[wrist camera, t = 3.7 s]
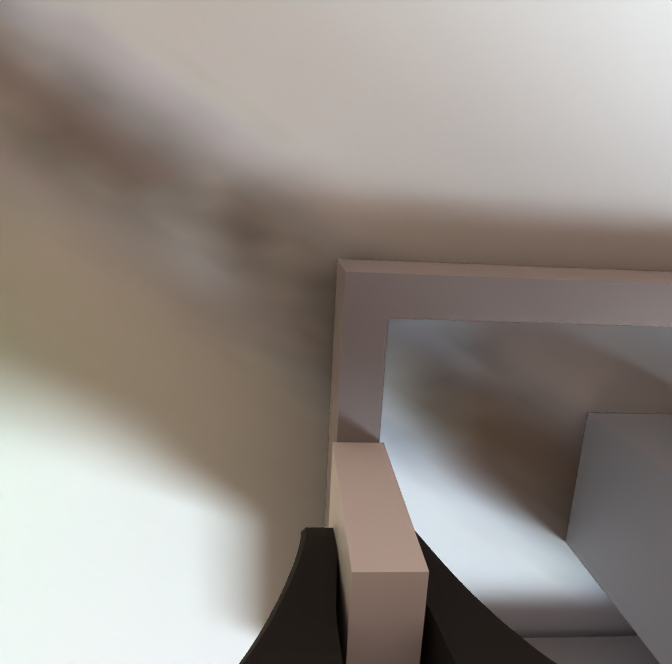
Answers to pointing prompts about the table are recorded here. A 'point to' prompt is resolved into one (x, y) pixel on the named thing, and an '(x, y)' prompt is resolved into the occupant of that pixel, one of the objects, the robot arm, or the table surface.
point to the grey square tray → (371, 456)
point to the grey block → (628, 519)
